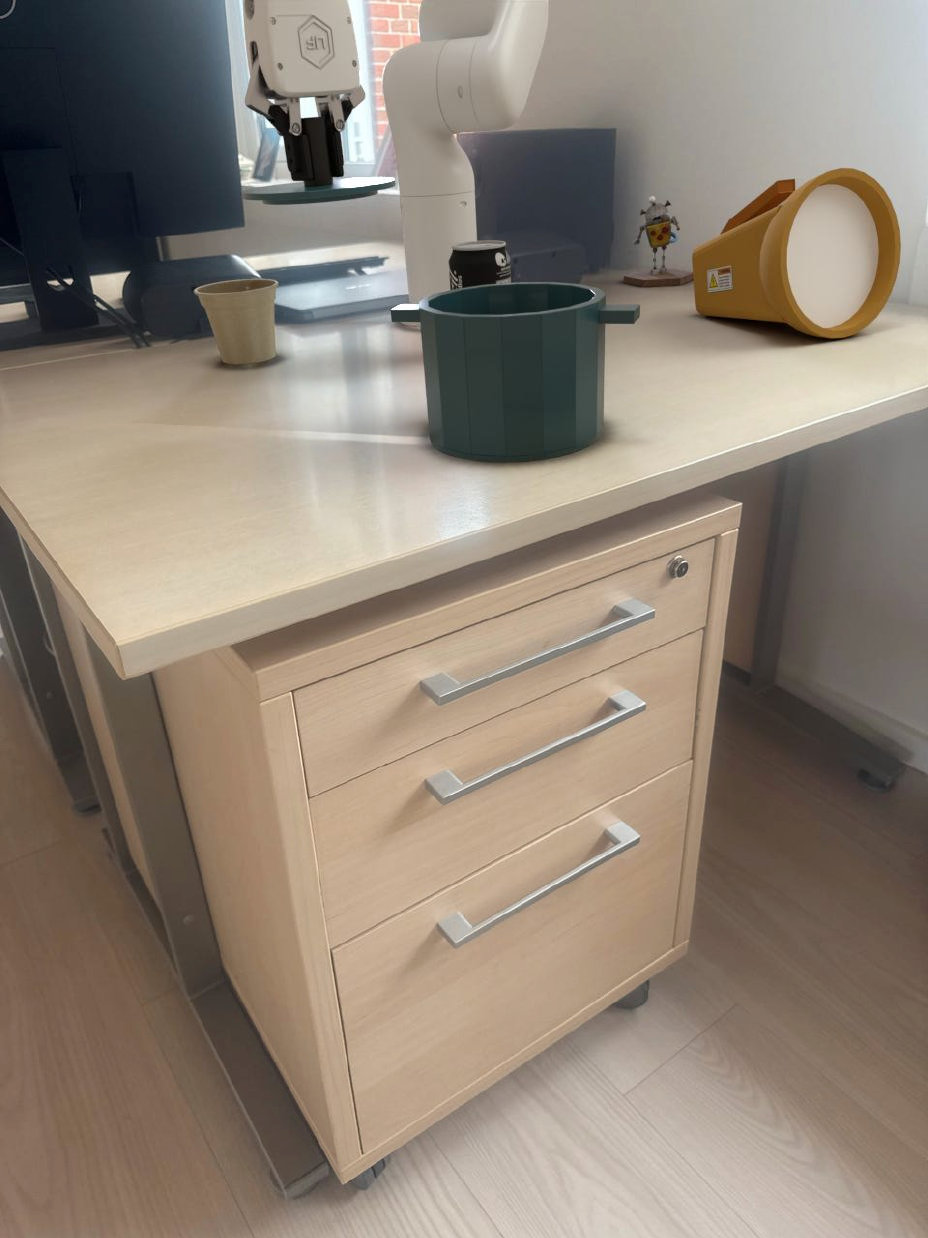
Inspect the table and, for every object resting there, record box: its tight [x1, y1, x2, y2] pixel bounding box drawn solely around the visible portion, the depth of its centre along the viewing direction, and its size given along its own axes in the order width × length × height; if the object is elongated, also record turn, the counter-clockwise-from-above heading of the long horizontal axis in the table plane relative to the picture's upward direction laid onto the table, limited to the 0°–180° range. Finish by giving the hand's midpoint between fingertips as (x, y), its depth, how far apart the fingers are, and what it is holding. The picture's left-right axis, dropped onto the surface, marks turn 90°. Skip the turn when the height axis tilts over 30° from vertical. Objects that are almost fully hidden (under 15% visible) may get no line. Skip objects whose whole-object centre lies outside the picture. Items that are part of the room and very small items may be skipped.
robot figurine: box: [623, 195, 694, 288], centre depth 133 cm, size 11×9×12 cm
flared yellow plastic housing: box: [691, 167, 902, 339], centre depth 102 cm, size 20×17×18 cm
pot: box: [390, 281, 641, 463], centre depth 72 cm, size 15×20×11 cm
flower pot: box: [193, 278, 279, 365], centre depth 102 cm, size 9×9×9 cm
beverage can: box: [449, 239, 512, 290], centre depth 96 cm, size 7×7×12 cm
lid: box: [241, 116, 397, 206], centre depth 88 cm, size 16×16×7 cm
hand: (317, 176), depth 89 cm, fingers closed on lid, 3 cm apart
